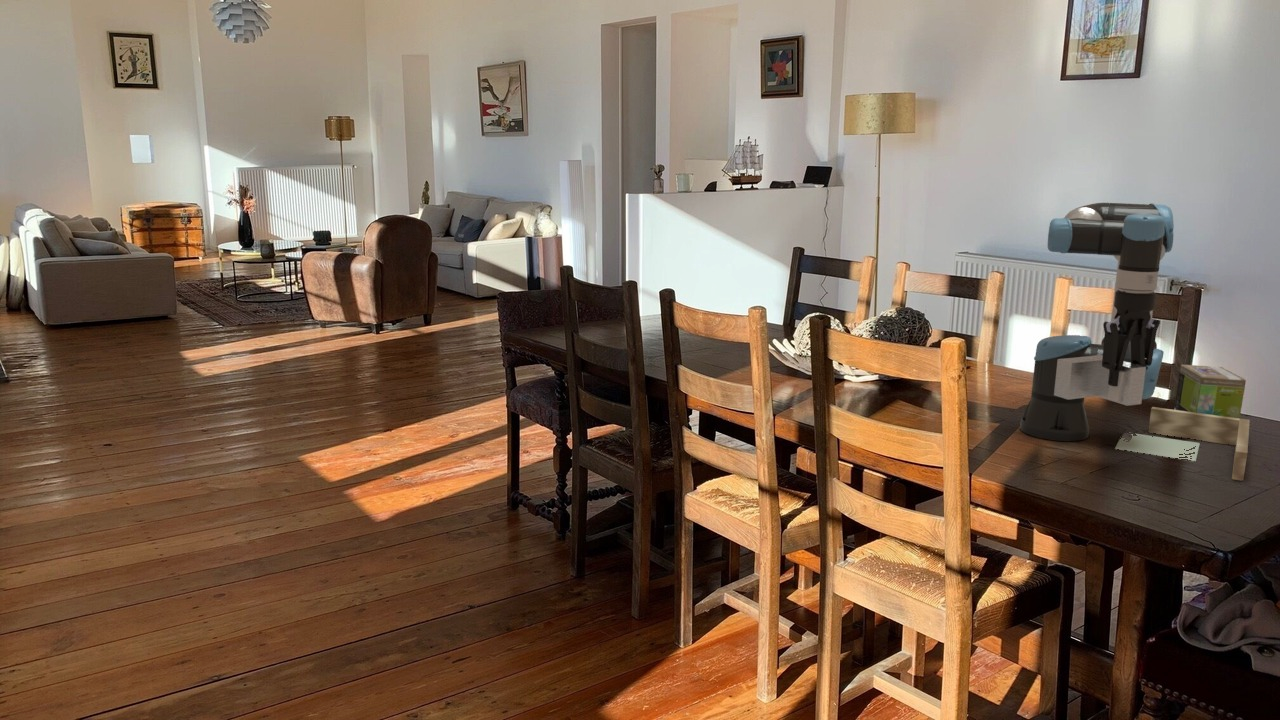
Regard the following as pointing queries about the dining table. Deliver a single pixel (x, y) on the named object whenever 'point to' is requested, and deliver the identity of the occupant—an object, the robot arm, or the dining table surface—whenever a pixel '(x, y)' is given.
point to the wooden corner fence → (1205, 431)
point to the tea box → (1209, 391)
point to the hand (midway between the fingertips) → (1122, 399)
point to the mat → (1159, 446)
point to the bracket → (1096, 379)
